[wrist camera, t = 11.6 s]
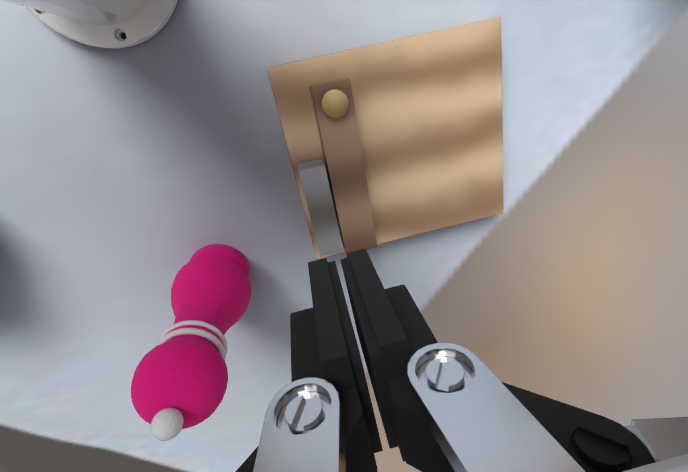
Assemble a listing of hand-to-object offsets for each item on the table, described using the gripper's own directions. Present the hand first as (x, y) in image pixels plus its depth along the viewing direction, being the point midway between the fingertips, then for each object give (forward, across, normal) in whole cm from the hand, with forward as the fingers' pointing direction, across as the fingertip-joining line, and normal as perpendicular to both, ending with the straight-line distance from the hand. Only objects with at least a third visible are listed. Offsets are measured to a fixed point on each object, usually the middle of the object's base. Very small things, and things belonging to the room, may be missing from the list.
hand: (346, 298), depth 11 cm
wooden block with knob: (+27, -8, +2) cm, 28 cm away
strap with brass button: (+24, -3, +2) cm, 24 cm away
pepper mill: (+27, +12, +11) cm, 32 cm away
